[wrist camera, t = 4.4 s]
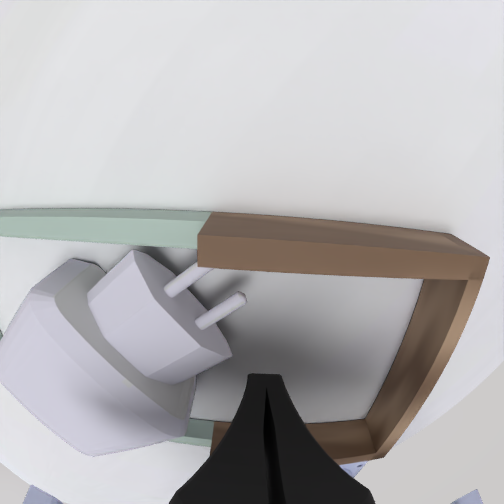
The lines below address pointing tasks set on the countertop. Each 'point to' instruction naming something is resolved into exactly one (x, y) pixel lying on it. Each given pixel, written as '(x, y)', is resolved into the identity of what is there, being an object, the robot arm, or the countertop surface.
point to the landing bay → (115, 232)
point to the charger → (113, 352)
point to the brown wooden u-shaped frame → (366, 265)
